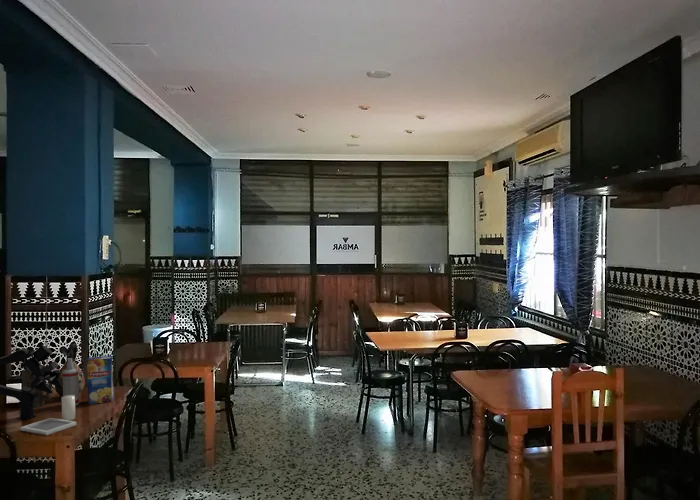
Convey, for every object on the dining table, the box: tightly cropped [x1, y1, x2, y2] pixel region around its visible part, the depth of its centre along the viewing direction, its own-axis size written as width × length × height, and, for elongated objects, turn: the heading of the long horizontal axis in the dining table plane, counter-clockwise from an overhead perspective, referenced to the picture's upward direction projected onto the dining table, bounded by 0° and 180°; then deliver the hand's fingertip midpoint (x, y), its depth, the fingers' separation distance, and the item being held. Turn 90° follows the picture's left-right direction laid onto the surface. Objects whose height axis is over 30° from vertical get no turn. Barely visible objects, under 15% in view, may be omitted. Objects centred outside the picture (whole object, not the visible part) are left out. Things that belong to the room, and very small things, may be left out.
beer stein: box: [21, 368, 53, 409], centre depth 319 cm, size 15×11×20 cm
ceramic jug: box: [54, 343, 86, 400], centre depth 335 cm, size 17×15×30 cm
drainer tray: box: [19, 417, 77, 436], centre depth 279 cm, size 18×16×2 cm
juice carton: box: [86, 355, 114, 405], centre depth 325 cm, size 12×8×24 cm, turn 105°
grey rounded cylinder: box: [60, 395, 76, 421], centre depth 293 cm, size 6×6×11 cm
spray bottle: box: [62, 358, 80, 406], centre depth 319 cm, size 8×8×25 cm
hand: (57, 390), depth 296 cm, fingers open, 9 cm apart
